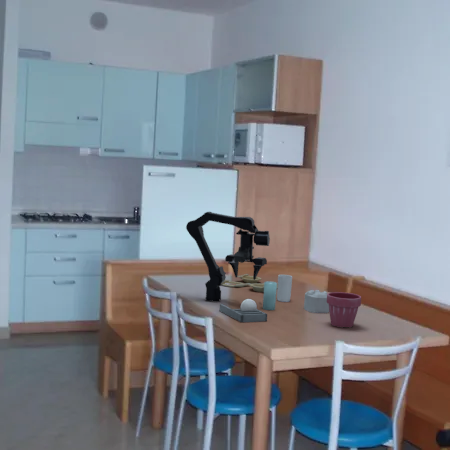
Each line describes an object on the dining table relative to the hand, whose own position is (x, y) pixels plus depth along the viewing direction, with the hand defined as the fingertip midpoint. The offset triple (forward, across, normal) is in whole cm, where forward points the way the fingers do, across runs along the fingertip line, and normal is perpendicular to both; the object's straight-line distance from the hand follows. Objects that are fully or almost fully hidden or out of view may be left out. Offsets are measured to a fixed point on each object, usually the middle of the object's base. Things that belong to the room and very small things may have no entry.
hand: (245, 278), depth 322 cm
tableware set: (+12, -16, +45) cm, 49 cm away
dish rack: (+12, +10, -22) cm, 27 cm away
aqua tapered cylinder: (+12, +13, -1) cm, 18 cm away
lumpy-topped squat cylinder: (+13, +30, +13) cm, 35 cm away
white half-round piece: (+12, +13, -22) cm, 28 cm away
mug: (+12, +9, +22) cm, 27 cm away
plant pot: (+14, +49, -8) cm, 52 cm away
